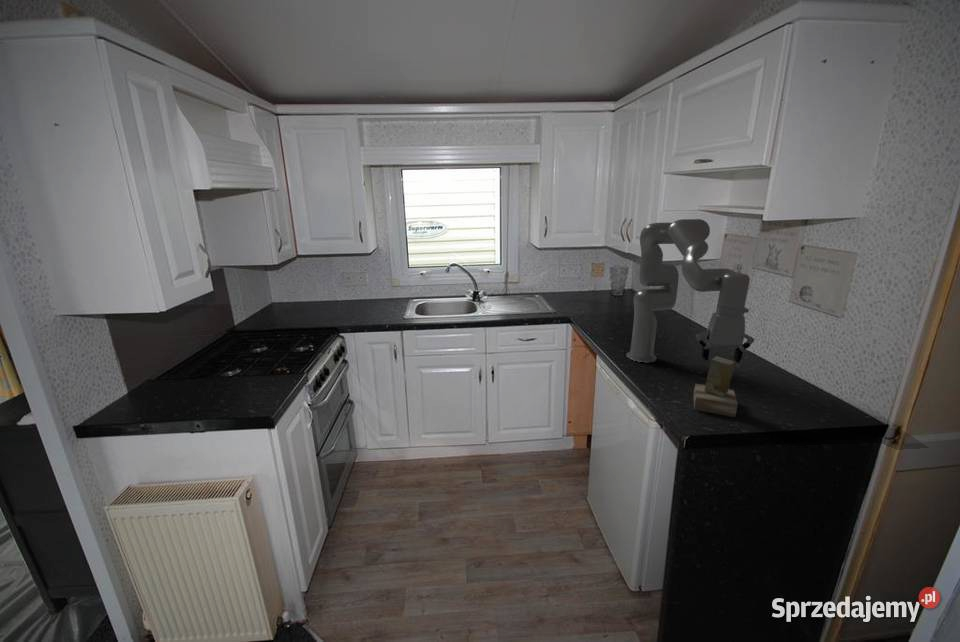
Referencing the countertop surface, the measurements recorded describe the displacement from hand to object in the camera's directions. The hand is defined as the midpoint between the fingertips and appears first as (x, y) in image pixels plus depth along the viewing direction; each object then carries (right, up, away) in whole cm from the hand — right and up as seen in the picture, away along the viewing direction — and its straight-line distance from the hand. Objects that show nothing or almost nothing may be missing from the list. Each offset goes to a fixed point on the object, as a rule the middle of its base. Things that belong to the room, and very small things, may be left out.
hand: (720, 360), depth 135 cm
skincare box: (0, -12, +3) cm, 12 cm away
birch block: (0, -17, +4) cm, 17 cm away
